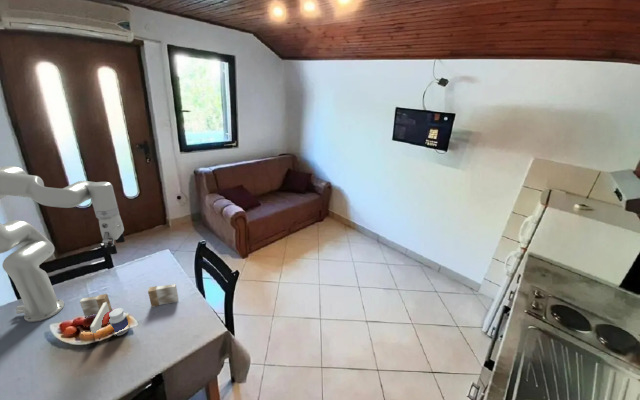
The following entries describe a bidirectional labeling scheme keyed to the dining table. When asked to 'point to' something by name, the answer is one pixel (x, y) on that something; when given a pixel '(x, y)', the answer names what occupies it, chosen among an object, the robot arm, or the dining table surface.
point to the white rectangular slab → (99, 318)
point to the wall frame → (155, 293)
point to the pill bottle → (118, 320)
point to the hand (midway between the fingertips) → (116, 247)
